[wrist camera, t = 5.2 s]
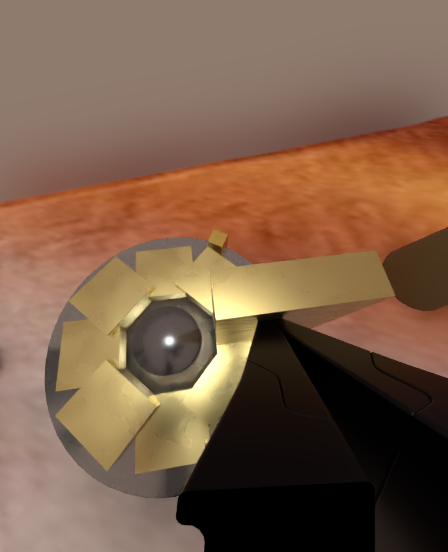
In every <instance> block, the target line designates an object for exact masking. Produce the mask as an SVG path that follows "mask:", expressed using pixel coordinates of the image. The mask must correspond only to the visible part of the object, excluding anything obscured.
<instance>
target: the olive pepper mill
mask: <svg viewBox="0 0 448 552" xmlns="http://www.w3.org/2000/svg"><path fill="white" fill-rule="evenodd" d="M383 268H384V270H385V273H386V275H387V277H388V280H389V282H390V284H391V287H392V289H393V291H394V293H395V297H396V298H397V299H398V300H400V301H401V302H402V303H404V304H406V305H408V306H409V307H411V308H414V309H418V310H422V311H429V310H436V309H438V308H441V307H443V306H445V305H448V227H447V228H445V229H442V230H440V231H438V232H436V233H433V234H431V235H429V236H427V237H424V238H422V239H420V240H418V241H415V242H413V243H411V244H409V245H407V246H404V247H402V248H400V249H398V250H395V251H393V252H391V253H390V254H389V255H388V256H387V257H386V258H385V261H384V263H383Z"/></svg>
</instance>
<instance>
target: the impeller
mask: <svg viewBox="0 0 448 552" xmlns="http://www.w3.org/2000/svg"><path fill="white" fill-rule="evenodd" d="M227 241H228V235H227V234H225V233H222V232H220V231H217V230H213V232H212V234H211V236H210V238H209V240H208V241H205V240H200V239H193V238H165V239H159V240H154V241H149V242H146V243H143V244H139V245H136V246H134V247H132V248H129V249H127V250H125V251H123V252H121V253H119V254H117V255H116V257H117V258H118V259H120V260H121V261H122V262H123V263H125V264H126V265H127V266H129V267H130V268H131V269H132V270H134V271H135V272H136V252H139V251H149V250H158V249H167V248H176V247H186V246H191V248H192V252H193V262H194V261H195V260H196V259H197V258H198V256H199V255H200V254H201V253H202V252H203V251H204V250H205V249H206V248H207V246H208V247H209V248H211V249H212V250H214V251H215V252H217V253H218V254H219V255H221V256H222V257H224V258H225V259H227V260H228V261H230V262H231V263H232V264H234V265H235V266H237V267H238V266H246V265H252V264H251V263H250V262H249V261H247V260H246V259H245V258H243V257H242V256H241V255H239V254H237V253H235V252H234V251H232V250H230V249H228V248H227ZM114 257H115V256H114ZM114 257H112V258H111V259H109V260H108V261H106V262H105V263H103V264H102V265H101V266H99V267H98V268H97V269H96V270H95V271H94V272H92V273H91V274H90V275H89V276H88V277H87V278H86V279H85V280H84V281H83V283H82V284H81V285H80V286H79V287H78V288H77V289H76V291H75V292H74V293H73V295H72V296H71V298H72V297H73V296H74V295H75V294H76V293H77V292H78V291H79V290H80V289H81V288H82V287H84V286H85V285H86V284H87V283H88V282H89V281H90V280H91V279H92V278H93V277H94V276H95V275H96V274H97V273H98V272H99V271H100V270H102V269H103V268H104V267H105V266H106V265H107V264H108V263H109V262H110V261H111V260H112V259H113V258H114ZM71 298H70V299H71ZM70 299H69V300H70ZM69 300H68V302H67V304H66V305H65V307H64V309H63V311H62V312H61V314H60V316H59V318H58V321H57V323H56V325H55V328H54V330H53V333H52V336H51V340H50V343H49V346H48V352H47V358H46V364H45V391H46V401H47V405H48V409H49V414H50V418H51V420H52V423H53V425H54V428H55V430H56V433H57V435H58V437H59V439H60V440H61V442H62V444H63V445H64V447H65V449H66V451H67V452H68V453H69V454H70V455H71V457H72V458H73V459H74V460H75V461H76V463H77V464H78V465H79V466H80V467H81V468H83V469H84V470H85V471H86V472H87V473H88V474H90V475H91V476H92V477H93V478H95V479H97V480H98V481H100V482H102V483H103V484H105V485H107V486H108V487H110V488H113V489H116V490H118V491H121V492H124V493H126V494H131V495H136V496H141V497H146V498H169V497H176V496H179V495H180V493H181V491H182V489H183V487H184V485H185V484H186V482H187V480H188V478H189V476H190V474H191V472H192V471H193V469H194V467H195V465H196V463H194V464H189V465H183V466H178V467H172V468H167V469H161V470H156V471H150V472H145V473H139V474H135V440H134V441H133V443H132V444H131V445H130V447H129V448H128V449H127V451H126V452H125V453H124V455H123V456H122V457H121V459H120V460H118V461H117V462H116V463H115V464H114V465H113V466H112V467H111V468H110V469H109V470H108V471H106V470H105V469H104V468H103V467H102V466H101V464H100V463H99V462H98V461H97V460H96V459H95V458H94V457H93V456H92V455H91V454H90V453H89V452H88V451H87V449H86V448H85V447H84V446H83V445H82V444H81V443H80V442H79V441H78V440H77V439H76V438H75V437H74V436H73V435H72V433H71V432H70V431H69V430H68V429H67V428H66V427H65V426H64V425H63V424H62V423H61V422H60V421H59V420H58V418H57V417H56V414H57V413H58V412H59V411H60V410H61V409H62V408H63V407H64V406H65V404H66V403H67V402H68V401H69V400H70V399H71V398H72V397H73V396H74V394H75V393H76V392H77V391H78V390H79V389H80V388H76V389H69V390H62V391H56V383H57V374H58V366H59V357H60V349H61V340H62V332H63V323H64V322H69V321H76V320H84V319H88V318H87V317H86V316H85V315H84V314H82V313H81V312H80V311H79V310H78V309H77V308H76V307H75V306H73V305H72V304H71V303H70V302H69ZM216 355H217V346H216V338H215V329H214V321H213V317H212V316H210V315H209V314H208V313H206V312H205V311H204V310H202V309H201V308H200V307H199V306H197V305H196V304H195V303H193V302H192V301H191V300H189V299H188V298H187V297H184V298H176V299H168V300H160V301H152V302H151V303H150V304H149V305H148V306H147V307H146V308H145V310H144V311H143V312H142V313H141V314H140V315H139V316H138V317H137V318H136V319H135V321H134V322H133V323H132V324H131V325H130V326H129V327H128V328H127V336H126V368H127V369H128V370H129V371H130V372H131V373H132V374H133V375H134V376H135V377H136V378H137V379H139V380H140V381H141V382H142V383H143V384H144V385H145V386H146V387H147V388H148V389H149V390H151V391H152V392H153V393H154V394H155V393H161V392H167V391H174V390H180V389H187V388H193V387H194V385H195V384H196V382H197V381H198V380H199V378H200V377H201V376H202V374H203V373H204V371H205V370H206V369H207V367H208V366H209V365H210V363H211V362H212V360H213V359H214V358H215V356H216ZM55 391H56V392H55ZM210 433H211V435H212V433H213V430H212V429H211V428H210Z"/></svg>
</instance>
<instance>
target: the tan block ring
mask: <svg viewBox="0 0 448 552" xmlns="http://www.w3.org/2000/svg"><path fill="white" fill-rule="evenodd" d="M394 296H395V293H394V291H393V289H392V287H391V284H390V282H389V280H388V277H387V275H386V273H385V270H384V268H383V266H382V263H381V261H380V259H379V256H378V254H377V252H376V250H375V251H367V252H358V253H350V254H341V255H332V256H324V257H315V258H307V259H298V260H289V261H281V262H272V263H264V264H255V265H246V266H238V267H237V266H235V265H234V264H232V263H231V262H230V261H228V260H227V259H225V258H224V257H222V256H221V255H219V254H218V253H217V252H215V251H214V250H212V249H211V248H209V247H208V246H207V248H206V249H205V250H204V251H203V252H202V253H201V254H200V255H199V256H198V258H197V259H196V260H195V261H194V262H193V252H192V248H191V246H186V247H176V248H167V249H158V250H149V251H139V252H136V272H135V271H134V270H132V269H131V268H130V267H129V266H127V265H126V264H125V263H123V262H122V261H121V260H120V259H118V258H117V257H116V256H115V257H114V258H113V259H112V260H111V261H110V262H109V263H108V264H107V265H106V266H105V267H104V268H103V269H102V270H100V271H99V272H98V273H97V274H96V275H95V276H94V277H93V278H92V279H91V280H90V281H89V282H88V283H87V284H86V285H85V286H84V287H82V288H81V289H80V290H79V291H78V292H77V293H76V294H75V295H74V296H73V297H72V298H71V299H70V300H69V302H70V303H71V304H72V305H73V306H75V307H76V308H77V309H78V310H79V311H80V312H81V313H82V314H84V315H85V316H86V317H87V318H88V319H84V320H76V321H69V322H64V323H63V332H62V340H61V349H60V357H59V366H58V374H57V383H56V391H62V390H69V389H76V388H80V389H79V390H78V391H77V392H76V393H75V394H74V396H73V397H72V398H71V399H70V400H69V401H68V402H67V403H66V404H65V406H64V407H63V408H62V409H61V410H60V411H59V412H58V413H57V414H56V417H57V418H58V420H59V421H60V422H61V423H62V424H63V425H64V426H65V427H66V428H67V429H68V430H69V431H70V432H71V433H72V435H73V436H74V437H75V438H76V439H77V440H78V441H79V442H80V443H81V444H82V445H83V446H84V447H85V448H86V449H87V451H88V452H89V453H90V454H91V455H92V456H93V457H94V458H95V459H96V460H97V461H98V462H99V463H100V464H101V466H102V467H103V468H104V469H105V470H106V471H108V470H109V469H110V468H111V467H112V466H113V465H114V464H115V463H116V462H117V461H118V460H120V459H121V457H122V456H123V455H124V453H125V452H126V451H127V449H128V448H129V447H130V445H131V444H132V443H133V441H134V440H135V474H139V473H145V472H150V471H156V470H161V469H167V468H172V467H178V466H183V465H189V464H194V463H197V461H198V459H199V457H200V456H201V454H202V452H203V450H204V448H205V446H206V444H207V443H208V441H209V439H210V437H211V433H210V428H211V429H212V430H213V431H214V429H215V428H216V426H217V424H218V422H219V420H220V418H221V416H222V415H223V413H224V411H225V409H226V407H227V405H228V403H229V401H230V400H231V398H232V396H233V394H234V392H235V390H236V388H237V386H238V383H239V381H240V379H241V376H242V373H243V370H244V367H245V363H246V361H247V357H248V354H249V350H250V347H251V343H252V340H253V336H254V333H255V329H256V325H257V322H258V321H260V320H271V319H278V318H283V319H285V320H288V321H291V322H293V323H296V324H299V325H301V326H304V327H306V328H309V329H311V328H314V327H317V326H319V325H322V324H324V323H327V322H330V321H332V320H335V319H337V318H340V317H343V316H345V315H348V314H350V313H353V312H356V311H358V310H361V309H363V308H366V307H369V306H371V305H374V304H376V303H379V302H381V301H384V300H387V299H389V298H392V297H394ZM184 297H187V298H188V299H189V300H191V301H192V302H193V303H195V304H196V305H197V306H199V307H200V308H201V309H202V310H204V311H205V312H206V313H208V314H209V315H210V316H212V317H213V321H214V329H215V338H216V346H217V355H216V356H215V358H214V359H213V360H212V362H211V363H210V365H209V366H208V367H207V369H206V370H205V371H204V373H203V374H202V376H201V377H200V378H199V380H198V381H197V382H196V384H195V385H194V387H193V388H187V389H180V390H174V391H167V392H161V393H155V394H154V393H153V392H152V391H151V390H149V389H148V388H147V387H146V386H145V385H144V384H143V383H142V382H141V381H140V380H139V379H137V378H136V377H135V376H134V375H133V374H132V373H131V372H130V371H129V370H128V369H127V368H126V336H127V328H128V327H129V326H130V325H131V324H132V323H133V322H134V321H135V319H136V318H137V317H138V316H139V315H140V314H141V313H142V312H143V311H144V310H145V308H146V307H147V306H148V305H149V304H150V303H151V302H152V301H160V300H168V299H176V298H184ZM56 391H55V392H56Z"/></svg>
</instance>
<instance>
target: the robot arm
mask: <svg viewBox="0 0 448 552" xmlns="http://www.w3.org/2000/svg"><path fill="white" fill-rule="evenodd" d="M176 520H177V521H178V523H180V524H181V525H191V526H194V527H196V528H197V529H199V530H200V531H201V533H202V534H203V536H204V541H205V546H204V552H448V378H446V377H443V376H440V375H437V374H434V373H431V372H428V371H425V370H422V369H419V368H416V367H413V366H410V365H407V364H404V363H402V362H399V361H396V360H393V359H390V358H388V357H385V356H382V355H380V354H377V353H374V352H371V353H370V351H368V350H365V349H362V348H360V347H357V346H354V345H352V344H349V343H346V342H344V341H341V340H338V339H336V338H333V337H330V336H328V335H325V334H322V333H320V332H317V331H314V330H312V329H309V328H306V327H304V326H301V325H299V324H296V323H293V322H291V321H288V320H285V319H283V318H278V319H271V320H260V321H258V322H257V325H256V329H255V333H254V336H253V340H252V343H251V347H250V350H249V354H248V357H247V361H246V363H245V367H244V370H243V373H242V376H241V379H240V381H239V383H238V386H237V388H236V390H235V392H234V394H233V396H232V398H231V400H230V401H229V403H228V405H227V407H226V409H225V411H224V413H223V415H222V416H221V418H220V420H219V422H218V424H217V426H216V428H215V429H214V431H213V433H212V435H211V437H210V439H209V441H208V443H207V444H206V446H205V448H204V450H203V452H202V454H201V456H200V457H199V459H198V461H197V463H196V465H195V467H194V469H193V471H192V472H191V474H190V476H189V478H188V480H187V482H186V484H185V485H184V487H183V489H182V491H181V493H180V495H179V497H178V503H177V512H176Z"/></svg>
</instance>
